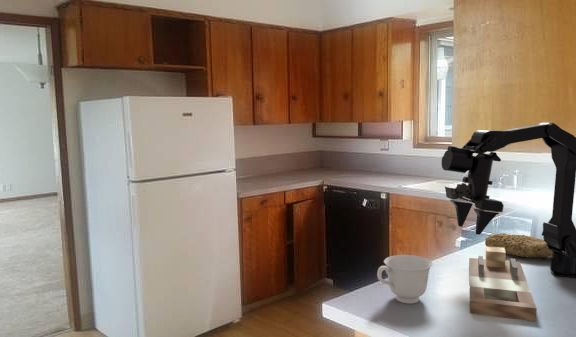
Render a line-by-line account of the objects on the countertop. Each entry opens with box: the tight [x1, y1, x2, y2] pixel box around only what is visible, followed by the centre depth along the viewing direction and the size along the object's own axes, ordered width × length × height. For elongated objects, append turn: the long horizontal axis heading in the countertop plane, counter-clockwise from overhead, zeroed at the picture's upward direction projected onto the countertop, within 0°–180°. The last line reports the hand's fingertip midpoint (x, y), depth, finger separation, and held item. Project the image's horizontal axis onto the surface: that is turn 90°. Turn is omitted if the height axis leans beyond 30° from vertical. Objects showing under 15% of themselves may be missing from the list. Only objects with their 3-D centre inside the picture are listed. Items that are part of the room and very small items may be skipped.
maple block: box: [485, 246, 507, 268], centre depth 137 cm, size 5×5×4 cm
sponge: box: [484, 232, 552, 259], centre depth 155 cm, size 13×8×20 cm
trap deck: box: [468, 255, 537, 322], centre depth 125 cm, size 14×35×6 cm, turn 159°
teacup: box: [376, 254, 434, 305], centre depth 120 cm, size 12×15×10 cm
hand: (468, 230), depth 131 cm, fingers open, 9 cm apart
